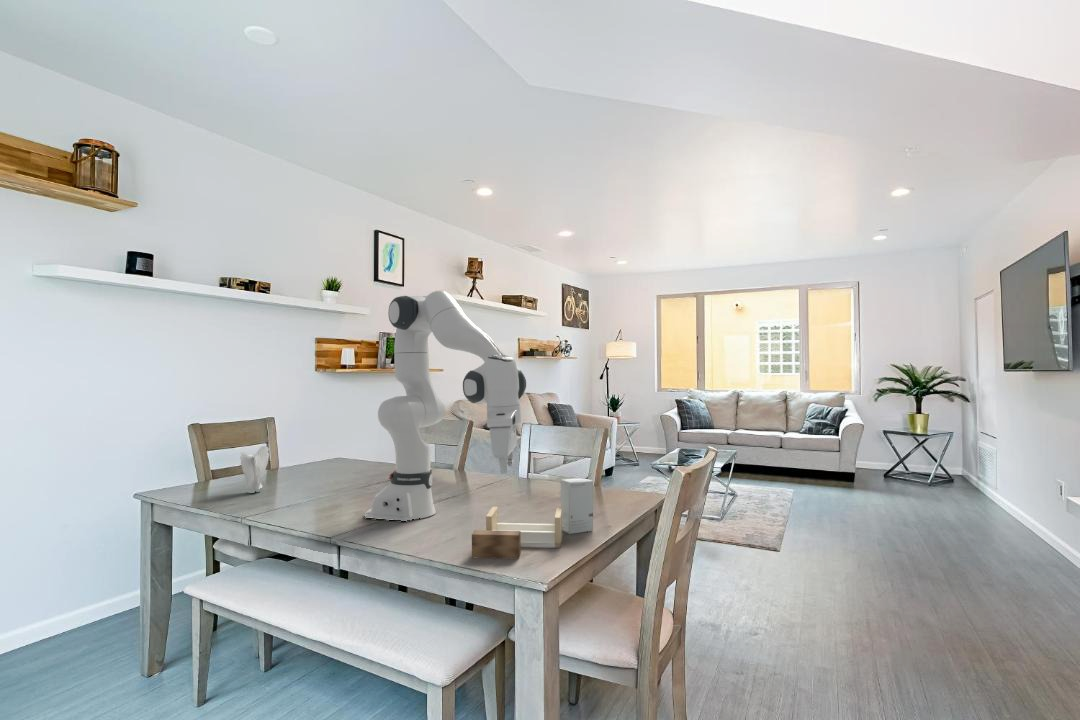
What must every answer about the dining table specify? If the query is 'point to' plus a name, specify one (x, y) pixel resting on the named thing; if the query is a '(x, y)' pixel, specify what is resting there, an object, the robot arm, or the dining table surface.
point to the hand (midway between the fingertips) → (507, 469)
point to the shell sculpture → (254, 467)
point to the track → (530, 530)
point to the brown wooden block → (496, 544)
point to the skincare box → (577, 505)
